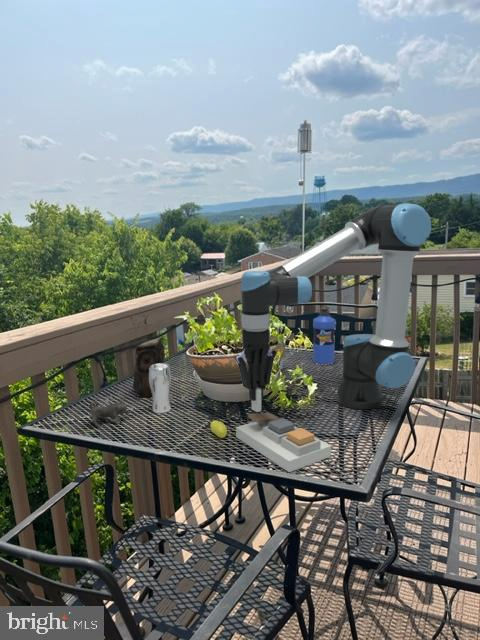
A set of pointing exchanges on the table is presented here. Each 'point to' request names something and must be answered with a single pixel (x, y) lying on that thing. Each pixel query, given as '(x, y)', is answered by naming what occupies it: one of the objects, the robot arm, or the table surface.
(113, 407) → the dog figurine
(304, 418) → the table surface
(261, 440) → the switch housing
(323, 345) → the water bottle
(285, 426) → the charcoal button
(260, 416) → the walnut rocker
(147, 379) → the dark brown speaker
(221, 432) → the lemon
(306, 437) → the orange button
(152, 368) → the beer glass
